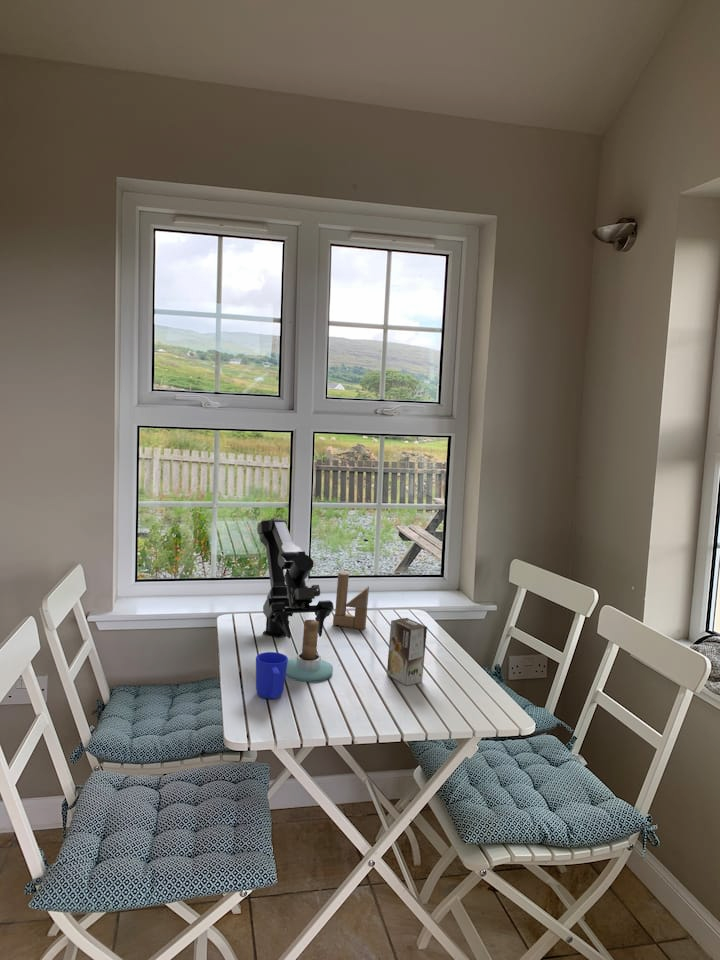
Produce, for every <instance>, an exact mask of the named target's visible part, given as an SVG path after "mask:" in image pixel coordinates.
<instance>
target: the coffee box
mask: <svg viewBox="0 0 720 960" xmlns="http://www.w3.org/2000/svg"><path fill="white" fill-rule="evenodd" d="M389 631H390V632H389V640H388V641H389V643H388V644H389V645H388V655H387V665H386V666H387V668H386V675H387V676H389V677H390V678H393V679H394V680H395V681H398V682H400V683H402V684H403V685H405V686H410V685H414V684H419V683H422V682H423V677H424V675H423V674H424V667H425V666H424V664H425V655H426V643H427V631H428V626H426V625H423V624H422V623H419V622H417V621H415V620H413V619H411V618H409V617H403V618H398V619H393V620H391V621H390V630H389Z"/></svg>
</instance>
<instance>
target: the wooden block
mask: <svg viewBox="0 0 720 960" xmlns="http://www.w3.org/2000/svg"><path fill="white" fill-rule="evenodd" d="M349 577H350V573H349V572H345V571H340V572H338V573H337V587H336V596H335V598H336V599H335V612H334V614H333V617H332V618H333V619H332V626H335V625H339V626H338V627H342V626H344V627H343V628H349V627H351V629H355V628H357V629H356V630H363V629H364V630H365V629H366V626H367V615H368V605H369V603H368V601H369V593H370V592H369V591H370V586H369V585H368V586H367V587H366V588H365V589H363V590H362V591H360V592H359V593H358V594H357V595H356V596H355V597H353V598H352V599H351V600H350V601H348V590H349V589H348V588H349V580H350V579H349ZM347 608H354V615H352V613H351V614H349V613H347Z"/></svg>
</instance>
